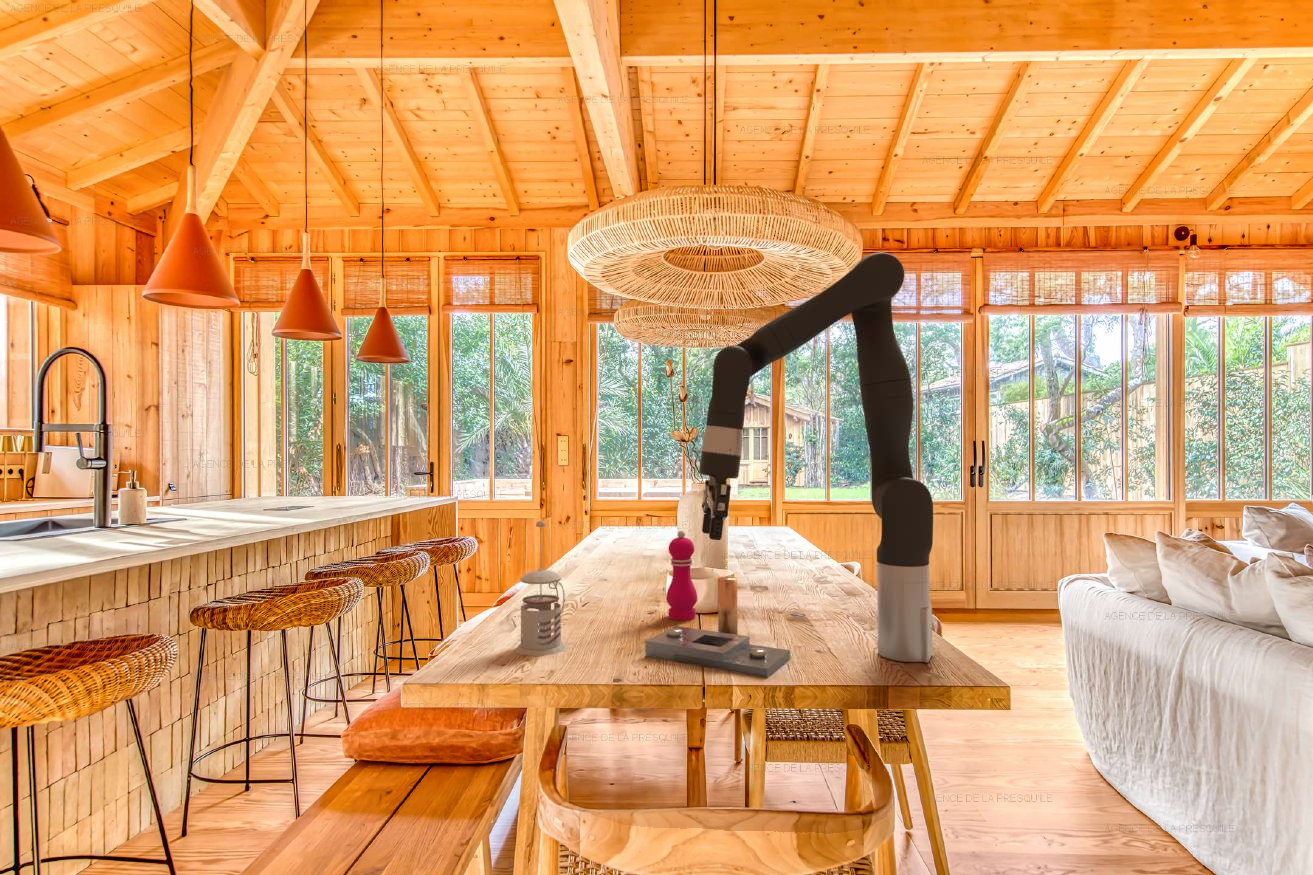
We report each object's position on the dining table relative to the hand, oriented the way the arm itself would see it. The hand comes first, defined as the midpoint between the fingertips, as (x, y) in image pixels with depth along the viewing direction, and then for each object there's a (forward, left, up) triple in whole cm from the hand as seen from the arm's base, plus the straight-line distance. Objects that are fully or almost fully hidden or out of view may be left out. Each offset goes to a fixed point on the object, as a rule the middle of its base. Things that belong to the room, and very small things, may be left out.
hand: (711, 536), depth 126 cm
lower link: (-5, +1, -22) cm, 23 cm away
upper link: (+2, +1, -22) cm, 22 cm away
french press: (+31, +11, -22) cm, 40 cm away
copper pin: (+2, -13, -22) cm, 26 cm away
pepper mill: (+18, -23, -22) cm, 37 cm away
